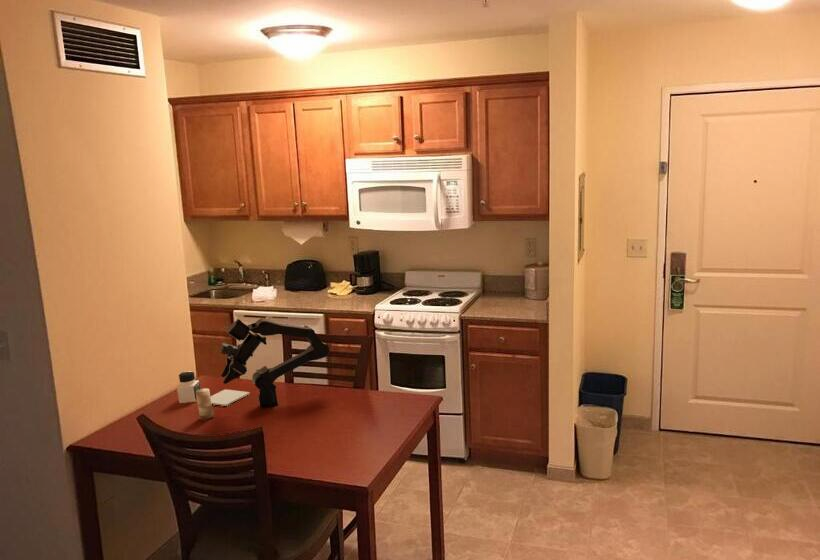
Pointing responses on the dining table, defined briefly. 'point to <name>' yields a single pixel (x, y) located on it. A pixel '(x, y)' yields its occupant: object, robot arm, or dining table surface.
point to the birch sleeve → (204, 404)
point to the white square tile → (227, 397)
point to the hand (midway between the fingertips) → (223, 379)
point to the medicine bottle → (187, 387)
